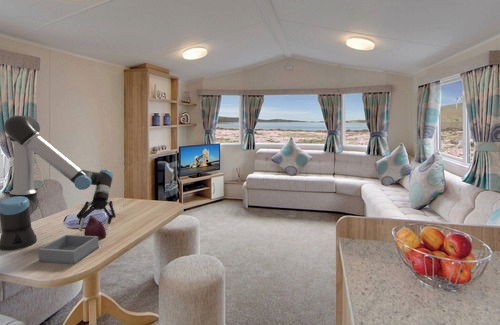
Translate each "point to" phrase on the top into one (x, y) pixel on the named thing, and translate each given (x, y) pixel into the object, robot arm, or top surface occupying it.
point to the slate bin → (68, 249)
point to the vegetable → (95, 228)
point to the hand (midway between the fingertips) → (93, 229)
